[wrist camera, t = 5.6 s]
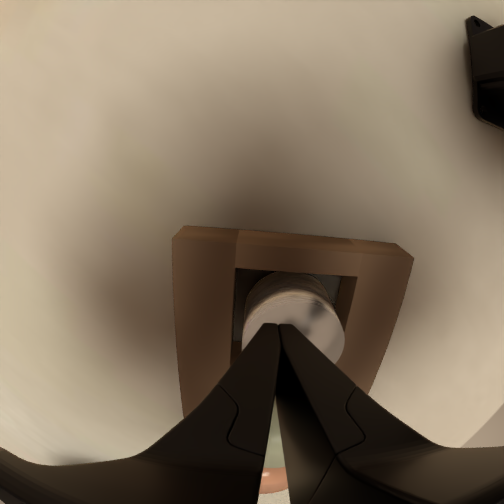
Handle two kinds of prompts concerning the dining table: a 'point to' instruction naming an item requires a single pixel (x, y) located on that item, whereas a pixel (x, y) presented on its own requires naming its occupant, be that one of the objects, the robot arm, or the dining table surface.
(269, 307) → the grey button
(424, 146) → the dining table surface
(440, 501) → the robot arm
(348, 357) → the button panel
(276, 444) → the sage button
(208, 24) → the dining table surface
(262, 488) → the terracotta button
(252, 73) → the dining table surface
